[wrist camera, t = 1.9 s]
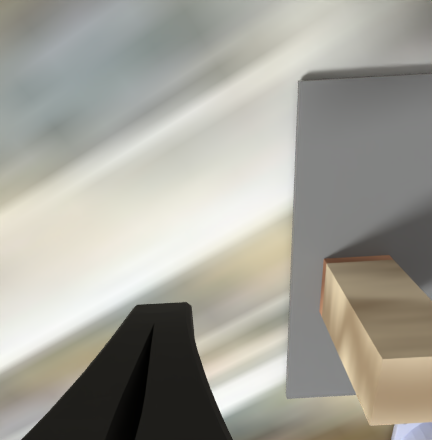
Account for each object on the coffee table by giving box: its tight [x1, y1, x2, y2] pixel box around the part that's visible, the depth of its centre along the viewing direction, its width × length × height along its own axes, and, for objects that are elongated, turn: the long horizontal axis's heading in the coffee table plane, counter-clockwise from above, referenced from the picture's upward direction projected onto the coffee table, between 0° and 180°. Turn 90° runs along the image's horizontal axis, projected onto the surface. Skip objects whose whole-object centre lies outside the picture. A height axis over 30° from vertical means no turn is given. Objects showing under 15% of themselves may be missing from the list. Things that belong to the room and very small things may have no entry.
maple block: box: [319, 255, 432, 426], centre depth 17 cm, size 4×4×7 cm
